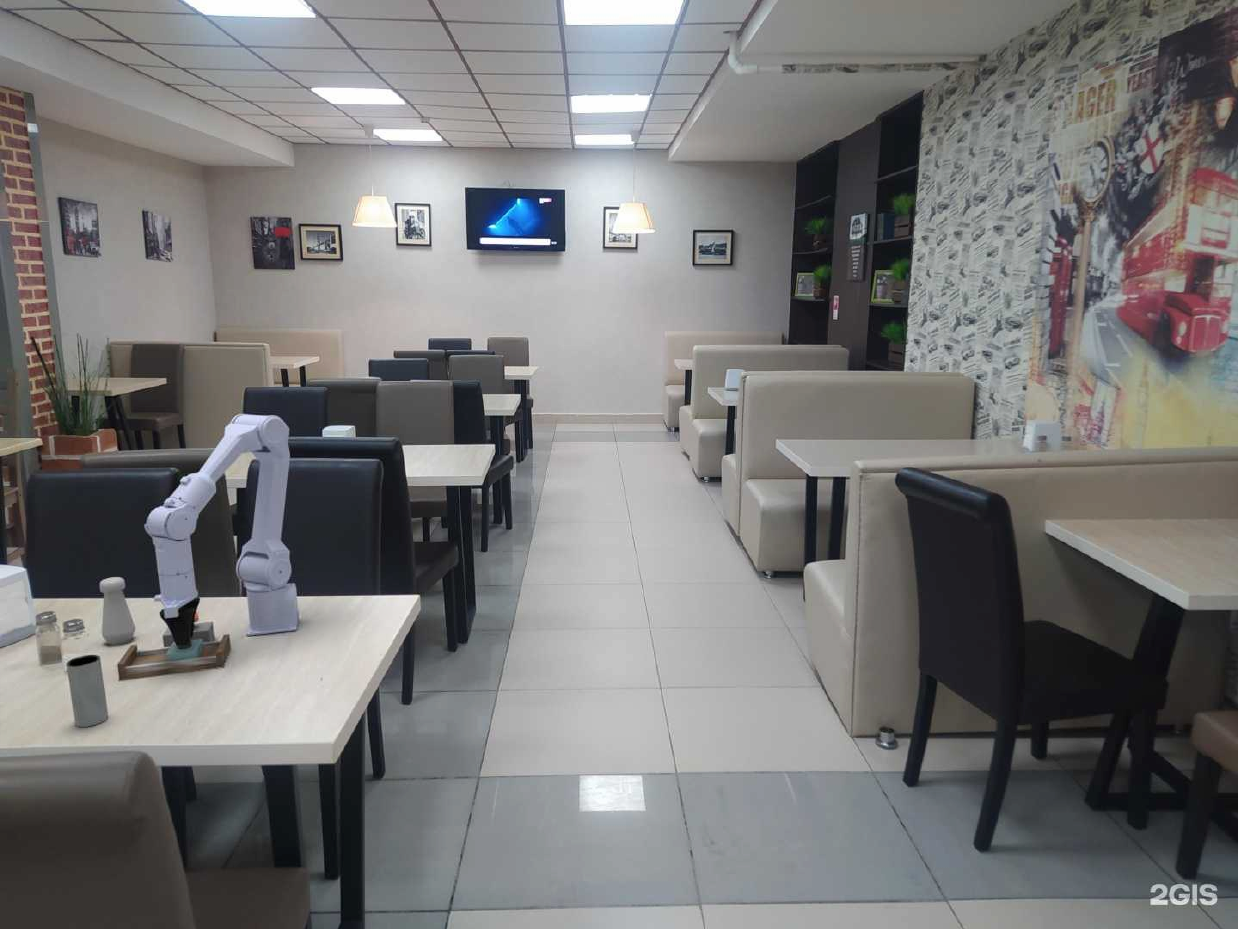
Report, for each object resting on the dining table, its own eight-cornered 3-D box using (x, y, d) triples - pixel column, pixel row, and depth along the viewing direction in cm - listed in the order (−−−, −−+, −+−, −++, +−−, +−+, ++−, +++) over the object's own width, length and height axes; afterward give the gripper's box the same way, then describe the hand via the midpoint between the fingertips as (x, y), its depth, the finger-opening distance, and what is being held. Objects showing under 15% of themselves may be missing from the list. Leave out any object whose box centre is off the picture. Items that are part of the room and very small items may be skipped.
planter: (84, 714, 135) (76, 655, 133) (114, 713, 136) (105, 653, 134) (69, 728, 131) (60, 667, 129) (99, 726, 131) (90, 665, 129)
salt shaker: (143, 636, 168) (135, 574, 166) (124, 647, 163) (115, 583, 160) (116, 635, 169) (108, 574, 167) (96, 646, 163) (87, 583, 161)
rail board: (230, 648, 161) (229, 634, 161) (223, 667, 153) (221, 652, 152) (132, 660, 156) (130, 645, 156) (119, 680, 148) (117, 664, 147)
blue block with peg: (203, 648, 158) (200, 619, 157) (197, 661, 153) (193, 630, 152) (174, 652, 157) (170, 622, 156) (167, 665, 151) (163, 633, 150)
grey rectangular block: (214, 638, 167) (212, 621, 166) (210, 647, 162) (208, 630, 161) (170, 643, 164) (168, 626, 164) (164, 652, 160) (162, 635, 159)
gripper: (161, 562, 157) (169, 630, 160) (141, 585, 144) (150, 659, 146) (202, 558, 159) (209, 625, 162) (186, 581, 146) (194, 654, 148)
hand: (184, 641), depth 154 cm, fingers closed on blue block with peg, 2 cm apart
